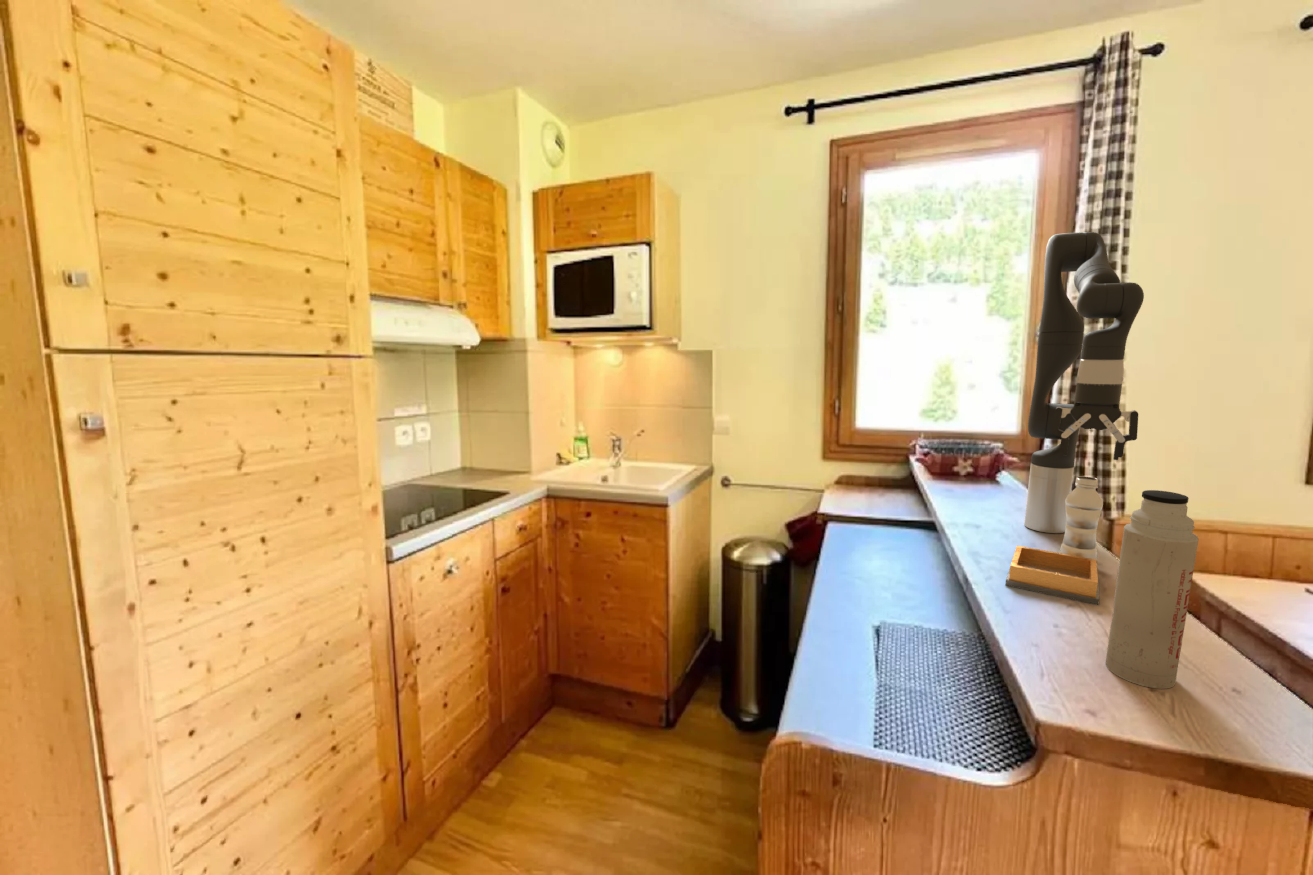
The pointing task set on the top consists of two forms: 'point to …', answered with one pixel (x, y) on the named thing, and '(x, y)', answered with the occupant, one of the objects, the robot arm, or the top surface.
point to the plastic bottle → (1082, 519)
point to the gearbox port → (1054, 574)
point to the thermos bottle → (1152, 591)
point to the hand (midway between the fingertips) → (1089, 457)
